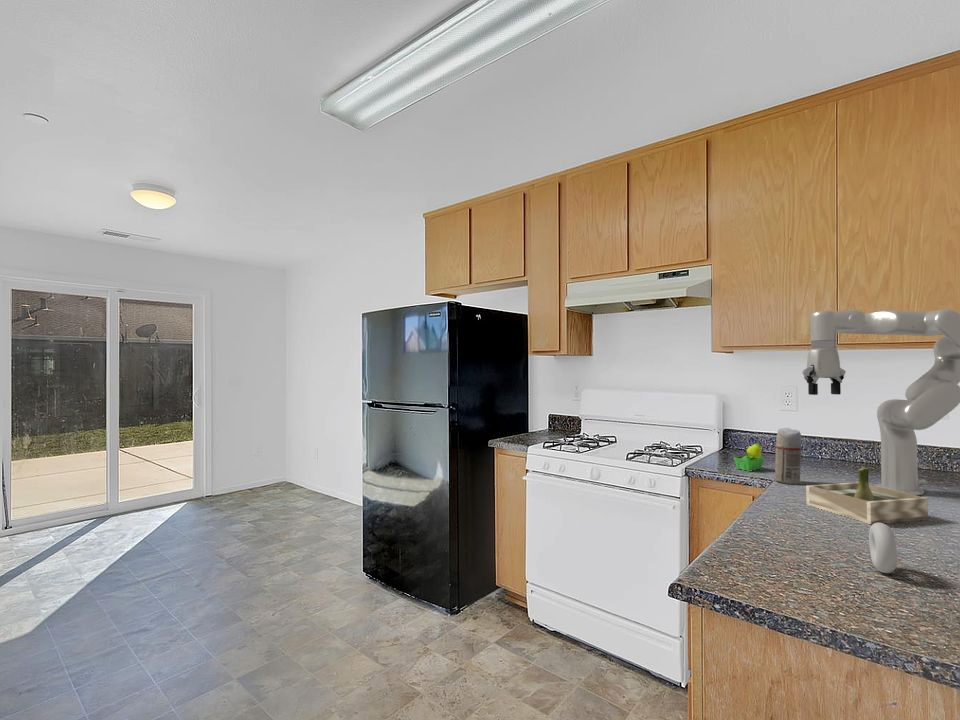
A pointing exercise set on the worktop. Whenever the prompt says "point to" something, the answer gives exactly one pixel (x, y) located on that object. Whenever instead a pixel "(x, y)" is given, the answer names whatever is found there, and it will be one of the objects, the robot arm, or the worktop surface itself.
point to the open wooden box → (867, 503)
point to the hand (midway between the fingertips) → (824, 394)
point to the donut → (882, 548)
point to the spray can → (788, 456)
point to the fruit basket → (750, 459)
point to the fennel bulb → (864, 486)
